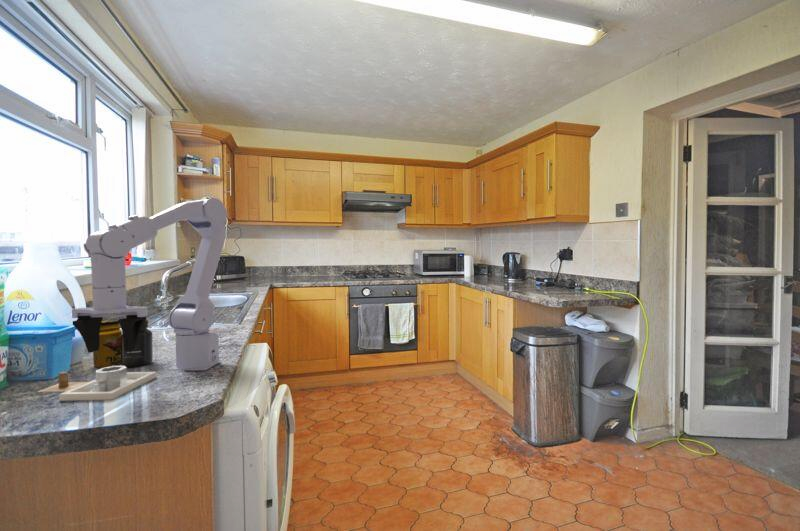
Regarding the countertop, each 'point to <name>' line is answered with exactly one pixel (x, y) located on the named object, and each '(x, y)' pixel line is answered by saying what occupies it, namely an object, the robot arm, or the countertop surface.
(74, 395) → the tray
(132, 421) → the countertop surface
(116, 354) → the condiment
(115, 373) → the ring
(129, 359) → the supplement bottle
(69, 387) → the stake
